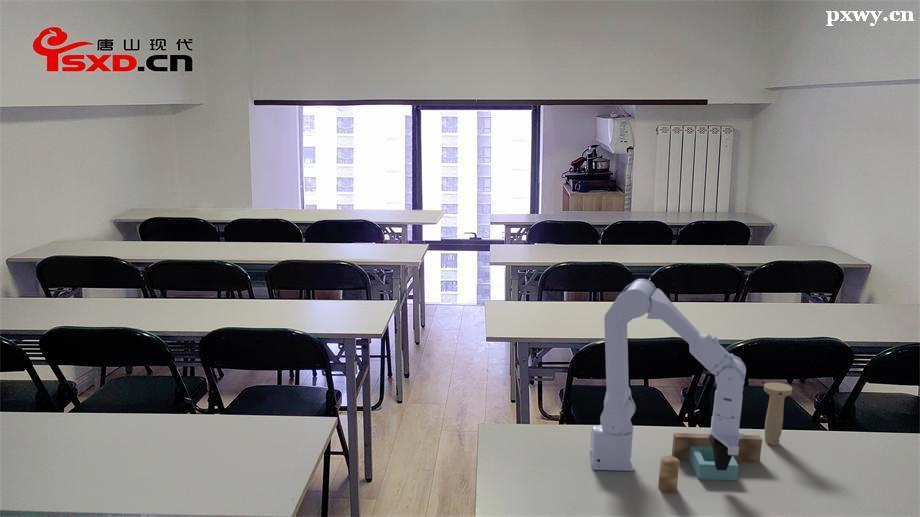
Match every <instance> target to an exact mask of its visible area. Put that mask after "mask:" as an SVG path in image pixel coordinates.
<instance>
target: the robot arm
mask: <svg viewBox="0 0 920 517" xmlns="http://www.w3.org/2000/svg"><path fill="white" fill-rule="evenodd" d="M646 314H648V315H647V316H646V319H648V320H649V319H650V320H661V321H663V322H664V323H665V324H666V325H667V326H668V327H669V328H671V329H672V330H673V332H675V333H676V334H677V335H679V337H680V338H682V339H683V340H684V341H685V342H686V343H688V347H689V353H690V354H691V356H693V357H694V358H695V359H696V360H697V361H698V362H700V364H701V365H702V366H703V367H704V368H706V370H708V372H710V373H711V374H712V375H714V379H715V384H716V389H715V392H714V398H713V399H714V401H713V410H712V416H711V420H710V421H711V423H710V425H711V426H710V430H709V434H711V435H710V436H709V439H710V441H711V444H712V448H713V453H714V461H715V467H716V469H717V470H727V468H728V465H729V463H730V460H731V458H732V456H733V455H738V452H739V444H738V441H739V437H740V436H744V435H745V432H744V431H743V429H740V424H741V415H742V408H743V396H744V395H743V391H744V385H745V382H746V381H745V379H746V374H747V366H746V364H745V363H744V361H743V360H742V358H741V357H739V356H736V355H734V354H733V353H730V352H728V350H727V349H725V348H724V346H722V345H721V344H720V343H719V340H720V338H718V337H717V336H716V335H714V336H712V335H711V334H710V333H707V332H700V331H699V330H698V329H697V328H696V327H695V326H694V325H693V323H691V321H689V320H688V318H687V317H686V316H685V315H684V314H683V313H682V311H680V310H679V309H678V308H677V307H676V306H675V304H674V303H672V301H671V300H670V299H669V297H667V295H666V294H665V293H664V292H663V291H662V290H661V289H660V288H657V287H656V286H655V284H654V283H653V282H652V281H650V280H649V279H646V278H637V279H635V280H634V281H632V282H630V283H629V284H628V285H626V286H625V287H624V288H623V290H622V291H621V292H620V293H619V295H618V296H617V297H616V299H615V300H614V301H613V303H612V304H611V306H610V307H609V309H608V310H607V312H606V313H605V314H604V317H603V320H604V322H603V323H604V345H605V346H604V350H605V351H604V353H605V383H606V386H605V387H606V391H605V396H604V400H603V411H602V412H601V414H600V416H599V417H600V420H599V422H600V424H599V425H593V426H592V427H591V431H590V447H589V456H590V457H589V458H590V461H591V465H592V469H593V470H595V471H597V470H598V471H625V472H626V471H628V472H632V471H633V472H634V471H635V470H636V469H635V465H634V462H633V459H632V451H633V450H632V448H633V438H634V437H633V436H634V435H633V434H634V425H633V424H632V420H631V419H632V417H633V416H634V414H635V413H636V408H637V407H636V403H635V401H634V399H633V398H632V390H631V388H630V386H629V384H630V383H629V381H630V380H629V351H628V350H629V345H628V343H629V342H628V324H629V323H630V322H631V321H632V320H634V319H637V318H640V317H643V316H644V315H646Z"/></svg>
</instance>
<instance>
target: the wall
mask: <svg viewBox="0 0 920 517" xmlns="http://www.w3.org/2000/svg"><path fill="white" fill-rule="evenodd" d="M710 435H711V433H693V432H692V433H687V432H685V433H684V432H683V433H682V432H673V437H672V438H673V439H672V448H671V449H672V450H671V451H672V452H671V456H673V457H675V458H677V459H678V460H679V461H690V460H689V459H690V448H691V446H710V447H712V444H711V441H710V439H709V436H710ZM738 444H739V452H738V455H733V457H734V459H735V460H736V462H737V463H738V462H739V463H760V462H761V453H762V446H763V438H762V437H761V435H760V434H759V435H754V434H744V436H740V437H739V441H738Z"/></svg>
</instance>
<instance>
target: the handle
mask: <svg viewBox="0 0 920 517" xmlns="http://www.w3.org/2000/svg"><path fill="white" fill-rule="evenodd" d="M763 391H764V392H765V393H766V394H767V395H769V400H768V405H767V411H766V416H765V420H764V421H765V423H764V441H765V443H766V445H771V446H773V447H774V446H776V445H779V443H780V439H781V436H782V435H781V434H782V431H783V426H784V425H783V423H784V409H785V407H784V406H785V398H786V397H788V396H791V395H792V394H793V387H792V386H791V385H790V384H788V383H787V384H786V383H783V382H766V383H764V385H763Z"/></svg>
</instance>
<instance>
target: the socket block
mask: <svg viewBox="0 0 920 517" xmlns="http://www.w3.org/2000/svg"><path fill="white" fill-rule="evenodd" d="M688 461H689V462H690V465H691V467H692V468H693V472H694V473H695V476H696V478H697V479H698V480H713V481H716V480H717V481H738V472H739V464H738V462H736V460H735V459H734V457H733V456H732V458H731V460H730V463H729V465H728V468H727V470H717V469H716V467H715V461H714V453H713V448H712V447H710V446H691V448H690V459H689V460H688Z"/></svg>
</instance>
